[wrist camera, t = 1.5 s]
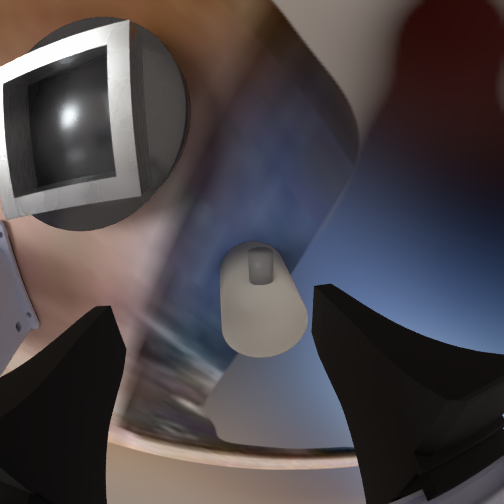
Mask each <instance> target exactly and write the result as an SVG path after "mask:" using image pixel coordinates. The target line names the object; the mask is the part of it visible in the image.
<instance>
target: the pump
mask: <svg viewBox="0 0 504 504" xmlns="http://www.w3.org/2000/svg"><path fill="white" fill-rule="evenodd" d="M219 275H220V299H221V320H222V333H223V336H224V339H225V340H226V342H227V343H228V345H229V346H230V347H231V348H232V349H234V350H235V351H237V352H238V353H240V354H243V355H246V356H250V357H257V358H263V357H271V356H275V355H278V354H281V353H283V352H285V351H287V350H289V349H290V348H292V347H293V346H294V345H295V344H296V343H297V342H298V341H299V340H300V339H301V338H302V336H303V335H304V333H305V331H306V328H307V324H308V314H307V310H306V308H305V305H304V303H303V301H302V299H301V297H300V295H299V293H298V290H297V289H296V286H295V284H294V282H293V280H292V278H291V276H290V274H289V271H288V269H287V267H286V265H285V263H284V261H283V259H282V257H281V255H280V254H279V252H278V251H277V250H276V249H275V248H273V247H272V246H270V245H268V244H266V243H263V242H258V241H250V242H244V243H241V244H239V245H237V246H235V247H233V248H232V249H231V250H229V251H228V252H227V254H226V255H225V256H224V258H223V259H222V262H221V264H220V270H219Z"/></svg>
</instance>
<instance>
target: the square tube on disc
mask: <svg viewBox="0 0 504 504" xmlns="http://www.w3.org/2000/svg"><path fill="white" fill-rule="evenodd" d="M189 126H190V98H189V92H188V88H187V84H186V81H185V78H184V76H183V74H182V72H181V69H180V68H179V66H178V65H177V63H176V62H175V60H174V59H173V57H172V56H171V54H170V53H169V51H168V49H167V48H166V47H165V46H164V45H163V43H162V42H161V41H160V40H159V39H158V38H157V37H156V36H155V35H153V34H152V33H151V32H149V31H148V30H147V29H145V28H143V27H141V26H140V25H138V24H136V23H133V22H131V21H130V20H124V19H119V18H113V17H94V18H87V19H82V20H79V21H75V22H72V23H70V24H67V25H65V26H63V27H61V28H59V29H57V30H55V31H54V32H52V33H50V34H49V35H47V36H46V37H45V38H43V39H42V40H41V41H40V42H38V43H37V44H36V45H35V46H34V47H33V48H32V49H31V50H30V51H29V52H28V53H27V54H26V55H24V56H22V57H20V58H18V59H16V60H14V61H12V62H10V63H8V64H6V65H4V66H2V67H0V197H1V202H2V206H3V211H4V215H5V219H6V220H9V219H13V218H18V217H23V216H27V215H33V216H34V217H35V218H37V219H38V220H40V221H42V222H44V223H45V224H48V225H51V226H53V227H56V228H60V229H64V230H70V231H91V230H95V229H100V228H104V227H107V226H110V225H112V224H115V223H117V222H119V221H121V220H123V219H125V218H126V217H128V216H129V215H131V214H132V213H134V212H135V211H136V210H138V209H139V208H140V207H141V206H142V205H143V204H144V203H146V202H147V201H148V200H149V199H150V197H151V196H152V195H153V194H154V193H155V192H156V191H157V189H158V188H159V187H160V186H161V185H162V184H163V183H164V181H165V180H166V179H167V178H168V177H169V175H170V174H171V172H172V171H173V169H174V168H175V166H176V164H177V162H178V160H179V159H180V157H181V154H182V152H183V149H184V147H185V144H186V140H187V136H188V132H189Z"/></svg>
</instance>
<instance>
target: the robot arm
mask: <svg viewBox="0 0 504 504" xmlns="http://www.w3.org/2000/svg"><path fill="white" fill-rule="evenodd" d="M1 232H2V234H3V236H2V234H1ZM39 326H40V324H39V321H38V319H37V316H36V314H35V312H34V309H33V307H32V305H31V302H30V300H29V297H28V295H27V292H26V289H25V287H24V284H23V281H22V279H21V276H20V273H19V270H18V267H17V264H16V261H15V258H14V255H13V251H12V248H11V245H10V241H9V238H8V234H7V230H6V227H5V224H4V222H2V221H0V375H1V374H2V373H3V371H4V370H5V368H6V367H7V365H8V363H9V362H10V360H11V359H12V357H13V355H14V354H15V352H16V351H17V349H18V348H19V346H20V344H21V343H22V341H23V340H24V338H25V337H26V335H27V334H28V332H29V331H30V330H31V329H38V327H39ZM312 335H313V339H314V342H315V345H316V348H317V352H318V355H319V357H320V360H321V362H322V364H323V366H324V368H325V371H326V373H327V375H328V377H329V379H330V381H331V384H332V386H333V388H334V390H335V392H336V394H337V397H338V399H339V401H340V403H341V406H342V409H343V411H344V414H345V417H346V420H347V424H348V427H349V430H350V433H351V437H352V441H353V444H354V448H355V452H356V455H357V460H358V464H359V468H360V473H361V477H362V481H363V487H364V492H365V498H366V504H504V429H503V428H504V417H503V416H502V415H503V414H504V355H502V354H495V353H487V352H480V351H474V350H470V349H466V348H461V347H457V346H453V345H450V344H446V343H443V342H440V341H437V340H434V339H431V338H429V337H426V336H423V335H421V334H419V333H416V332H414V331H412V330H409V329H407V328H405V327H403V326H401V325H399V324H397V323H395V322H393V321H391V320H389V319H387V318H386V317H384V316H382V315H380V314H379V313H377V312H375V311H373V310H372V309H370V308H369V307H367V306H365V305H364V304H362V303H360V302H359V301H357V300H356V299H354V298H353V297H351V296H350V295H348V294H347V293H345V292H344V291H342V290H340V289H339V288H337V287H335V286H334V285H332V284H325V285H318V286H314V299H313V318H312ZM125 356H126V347H125V344H124V342H123V339H122V337H121V334H120V331H119V329H118V326H117V323H116V320H115V317H114V315H113V312H112V309H111V306H96V307H94V308H93V309H91V310H90V311H89V312H87V313H86V314H85V315H84V316H82V317H81V318H80V319H79V320H78V321H76V322H75V323H74V324H73V325H72V326H71V327H69V328H68V329H67V330H66V331H65V332H64V333H62V334H61V335H60V336H59V337H58V338H56V339H55V340H54V341H53V342H51V343H50V344H49V345H48V346H46V347H45V348H44V349H43V350H42V351H40V352H39V353H38V354H36V355H35V356H34V357H32V358H31V359H30V360H28V361H27V362H25V363H24V364H22V365H21V366H19V367H18V368H16V369H14V370H13V371H11V372H9V373H7V374H6V375H4V376H2V377H0V504H107V499H106V451H107V440H108V431H109V425H110V420H111V416H112V412H113V409H114V405H115V401H116V397H117V394H118V390H119V386H120V382H121V379H122V375H123V370H124V364H125Z"/></svg>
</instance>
